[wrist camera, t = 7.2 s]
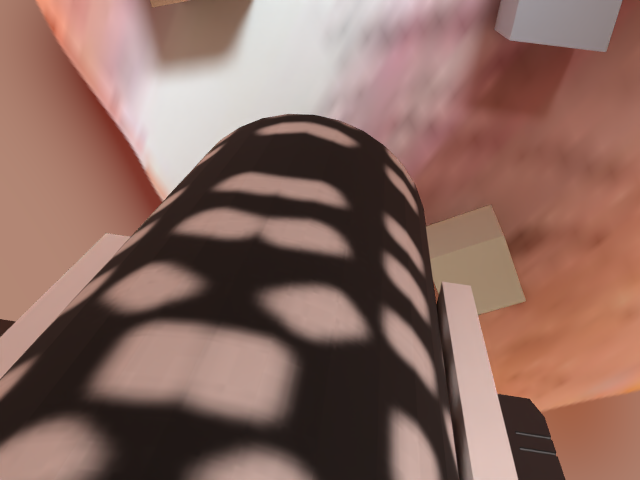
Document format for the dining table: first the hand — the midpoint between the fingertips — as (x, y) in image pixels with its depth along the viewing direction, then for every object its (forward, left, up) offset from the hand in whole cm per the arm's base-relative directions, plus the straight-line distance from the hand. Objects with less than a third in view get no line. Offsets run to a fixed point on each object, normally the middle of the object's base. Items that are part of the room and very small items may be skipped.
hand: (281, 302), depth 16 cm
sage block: (+9, +10, -24) cm, 28 cm away
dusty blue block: (-8, +11, -24) cm, 28 cm away
